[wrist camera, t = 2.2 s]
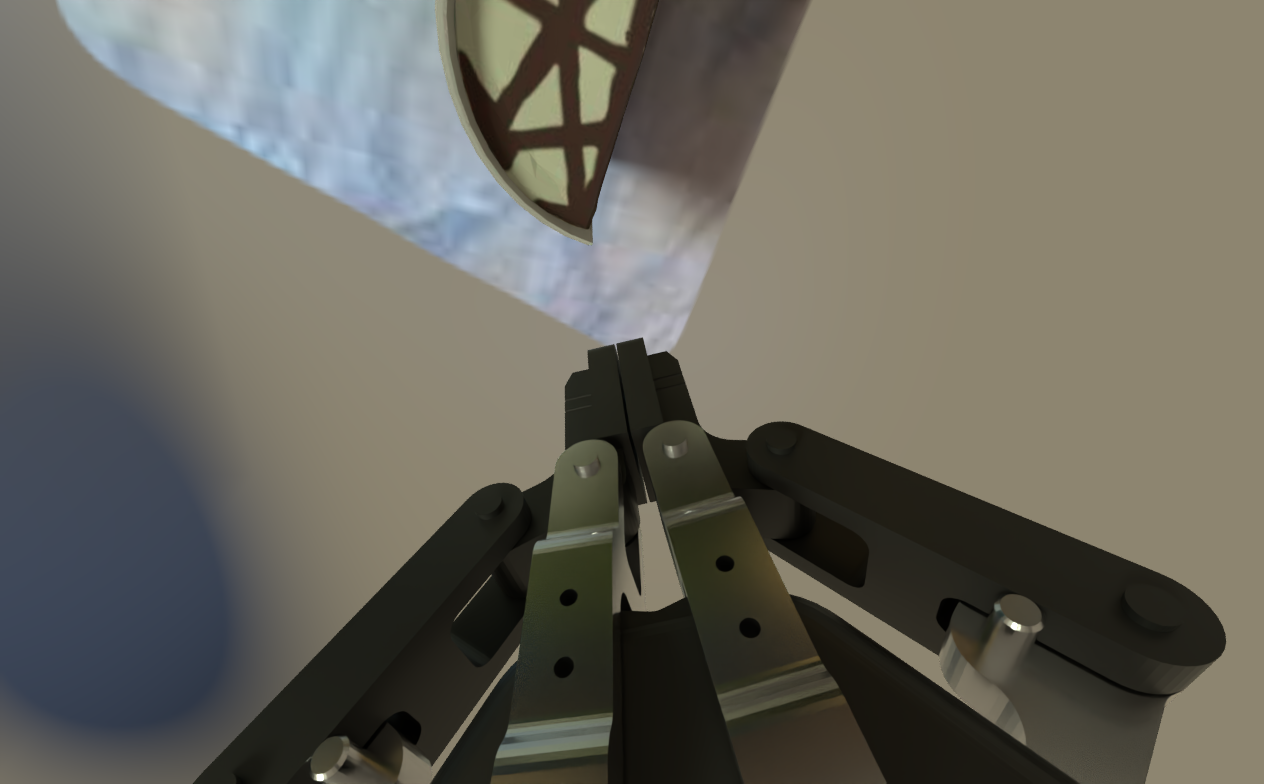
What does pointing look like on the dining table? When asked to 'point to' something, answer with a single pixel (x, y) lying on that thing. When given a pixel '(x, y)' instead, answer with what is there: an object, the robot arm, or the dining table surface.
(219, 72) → the dining table surface
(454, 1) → the food container
